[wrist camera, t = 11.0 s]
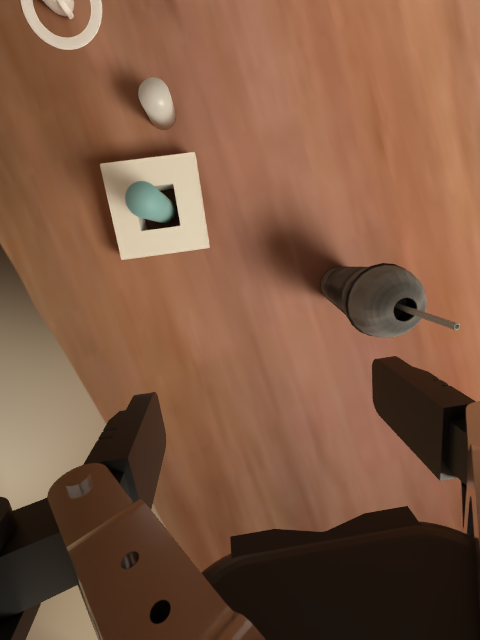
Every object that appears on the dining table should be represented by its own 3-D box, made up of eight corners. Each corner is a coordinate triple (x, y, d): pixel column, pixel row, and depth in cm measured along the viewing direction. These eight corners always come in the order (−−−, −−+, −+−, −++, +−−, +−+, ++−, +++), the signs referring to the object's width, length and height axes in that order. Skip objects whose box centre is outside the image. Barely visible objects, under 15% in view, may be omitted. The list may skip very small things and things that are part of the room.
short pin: (146, 101, 35) (135, 79, 30) (173, 97, 35) (166, 75, 30) (151, 131, 36) (142, 114, 31) (178, 128, 36) (172, 110, 31)
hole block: (110, 170, 36) (99, 163, 33) (196, 159, 37) (194, 152, 33) (129, 258, 39) (121, 260, 36) (209, 247, 39) (209, 247, 36)
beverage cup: (319, 250, 40) (414, 262, 21) (371, 263, 41) (508, 285, 22) (304, 304, 42) (379, 361, 23) (354, 315, 43) (467, 378, 24)
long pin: (147, 198, 37) (121, 183, 27) (173, 195, 37) (156, 178, 27) (153, 224, 38) (129, 219, 28) (177, 221, 38) (163, 215, 28)
